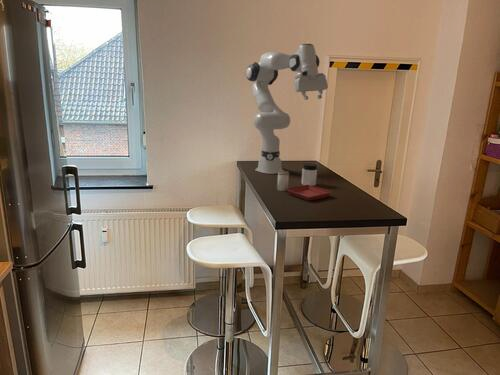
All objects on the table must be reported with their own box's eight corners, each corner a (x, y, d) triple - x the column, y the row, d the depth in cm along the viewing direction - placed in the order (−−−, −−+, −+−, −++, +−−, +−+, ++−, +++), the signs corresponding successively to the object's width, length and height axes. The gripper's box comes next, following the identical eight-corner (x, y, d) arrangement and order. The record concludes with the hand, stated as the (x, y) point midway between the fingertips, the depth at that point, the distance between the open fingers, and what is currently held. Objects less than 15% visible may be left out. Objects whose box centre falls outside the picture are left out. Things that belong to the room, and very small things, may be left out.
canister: (276, 187, 222) (278, 170, 219) (288, 188, 221) (289, 171, 219) (276, 190, 216) (277, 173, 213) (288, 191, 215) (289, 173, 212)
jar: (307, 186, 227) (309, 166, 224) (298, 183, 233) (299, 163, 230) (318, 185, 232) (320, 165, 228) (309, 181, 238) (311, 162, 235)
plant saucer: (284, 194, 211) (284, 188, 210) (307, 189, 222) (308, 184, 221) (308, 203, 197) (308, 196, 197) (332, 197, 208) (332, 191, 207)
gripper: (321, 74, 222) (324, 98, 223) (291, 75, 213) (294, 101, 214) (328, 71, 216) (331, 96, 218) (298, 73, 207) (301, 99, 208)
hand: (313, 99), depth 216 cm, fingers open, 8 cm apart
